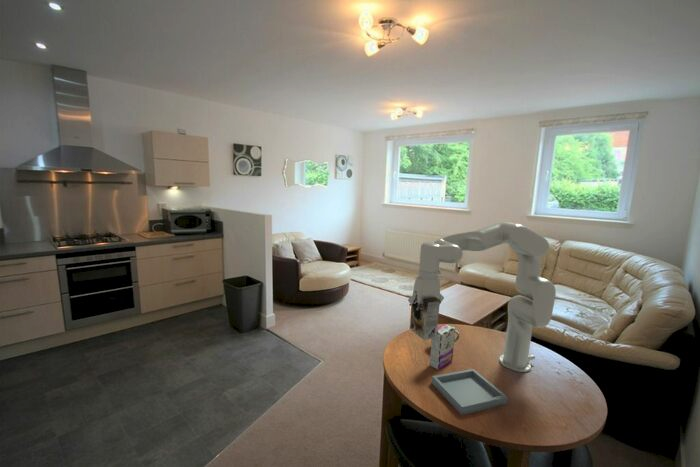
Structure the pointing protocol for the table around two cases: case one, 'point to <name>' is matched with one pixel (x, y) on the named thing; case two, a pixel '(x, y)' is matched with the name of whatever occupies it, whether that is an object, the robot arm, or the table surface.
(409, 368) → the table surface
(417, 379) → the table surface
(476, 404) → the tray
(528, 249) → the robot arm
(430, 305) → the coffee box
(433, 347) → the candy bar box
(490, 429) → the table surface
